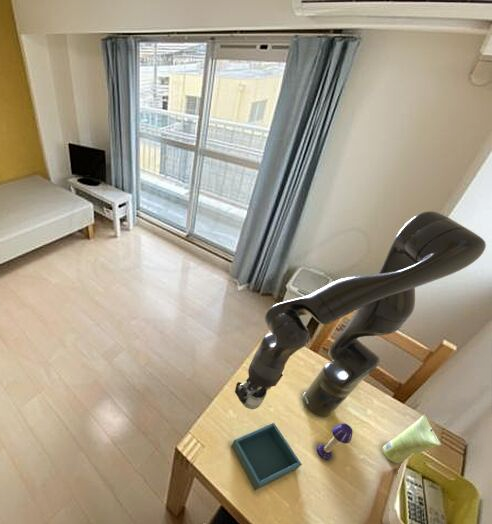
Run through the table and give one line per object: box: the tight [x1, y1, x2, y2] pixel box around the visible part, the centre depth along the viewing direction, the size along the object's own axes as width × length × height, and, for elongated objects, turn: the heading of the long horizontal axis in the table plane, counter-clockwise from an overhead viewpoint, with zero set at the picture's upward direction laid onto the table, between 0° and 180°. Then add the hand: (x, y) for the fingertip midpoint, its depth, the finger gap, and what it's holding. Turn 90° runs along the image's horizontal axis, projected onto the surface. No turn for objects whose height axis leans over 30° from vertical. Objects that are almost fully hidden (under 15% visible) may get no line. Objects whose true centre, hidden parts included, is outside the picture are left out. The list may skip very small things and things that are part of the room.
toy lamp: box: [316, 422, 354, 461], centre depth 86 cm, size 5×5×17 cm
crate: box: [230, 422, 303, 492], centre depth 88 cm, size 15×12×5 cm
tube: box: [382, 414, 442, 464], centre depth 85 cm, size 6×5×20 cm
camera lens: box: [241, 387, 268, 410], centre depth 87 cm, size 6×6×8 cm
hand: (251, 396), depth 88 cm, fingers closed on camera lens, 6 cm apart
